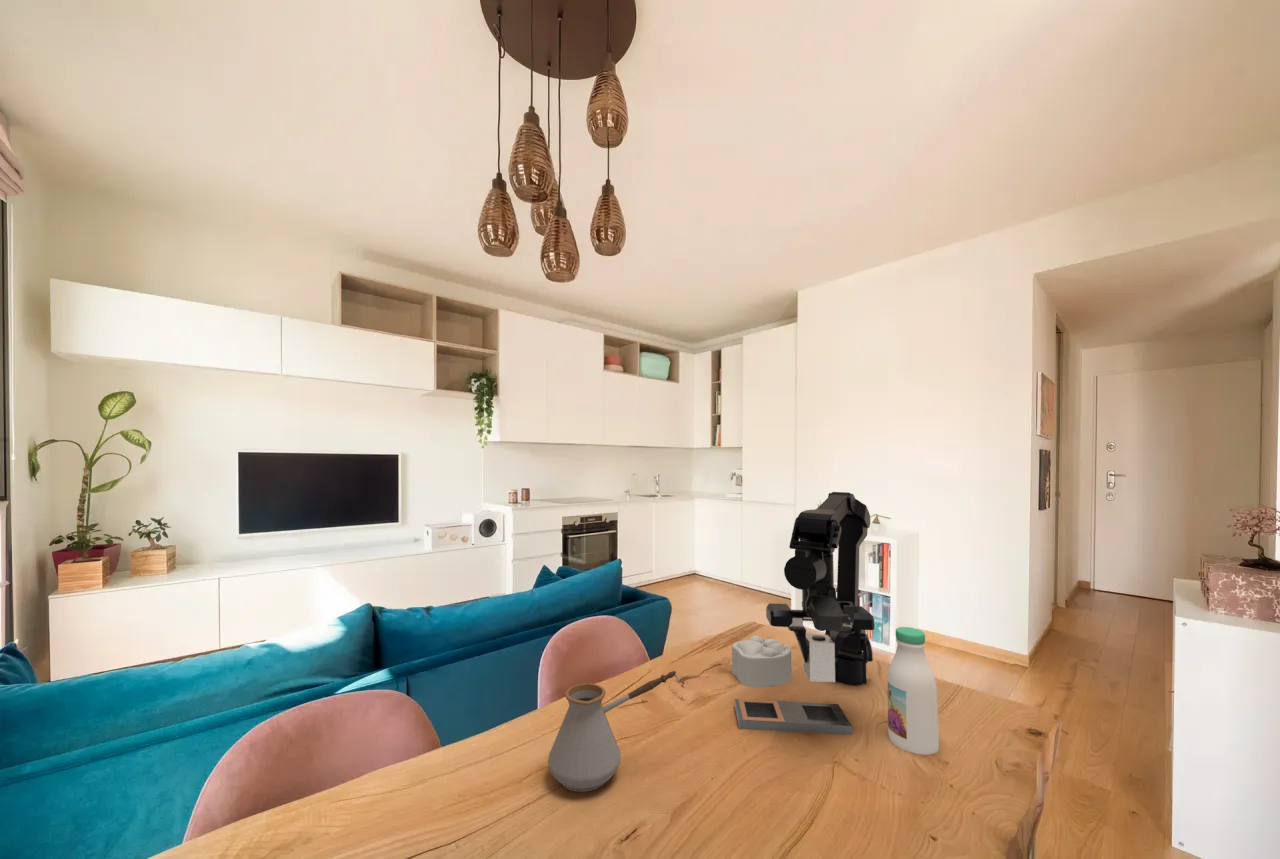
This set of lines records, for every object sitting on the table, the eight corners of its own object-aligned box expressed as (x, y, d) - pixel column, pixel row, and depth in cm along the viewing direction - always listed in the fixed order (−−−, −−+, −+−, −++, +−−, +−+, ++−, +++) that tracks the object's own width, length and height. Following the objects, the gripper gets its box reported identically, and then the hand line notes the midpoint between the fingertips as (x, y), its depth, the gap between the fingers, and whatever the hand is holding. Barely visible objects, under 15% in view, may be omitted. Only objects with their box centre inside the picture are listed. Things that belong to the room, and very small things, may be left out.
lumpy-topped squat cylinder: (728, 672, 115) (728, 635, 116) (779, 668, 118) (779, 632, 118) (745, 693, 105) (745, 652, 106) (801, 688, 108) (800, 648, 108)
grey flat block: (838, 717, 96) (838, 703, 96) (852, 740, 88) (852, 725, 88) (734, 711, 97) (734, 698, 98) (739, 734, 89) (738, 719, 90)
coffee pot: (548, 805, 71) (549, 698, 72) (547, 758, 82) (548, 666, 83) (689, 787, 75) (689, 686, 76) (670, 744, 86) (670, 656, 87)
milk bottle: (936, 741, 88) (932, 627, 89) (942, 765, 81) (938, 641, 82) (887, 731, 91) (885, 620, 92) (889, 753, 84) (886, 634, 85)
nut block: (828, 671, 94) (827, 633, 95) (835, 682, 90) (834, 642, 90) (804, 670, 95) (803, 633, 95) (810, 681, 90) (809, 641, 91)
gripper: (775, 588, 86) (776, 678, 85) (885, 591, 85) (887, 684, 84) (765, 573, 98) (766, 654, 97) (862, 576, 96) (864, 658, 95)
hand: (819, 662), depth 93 cm, fingers closed on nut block, 4 cm apart
